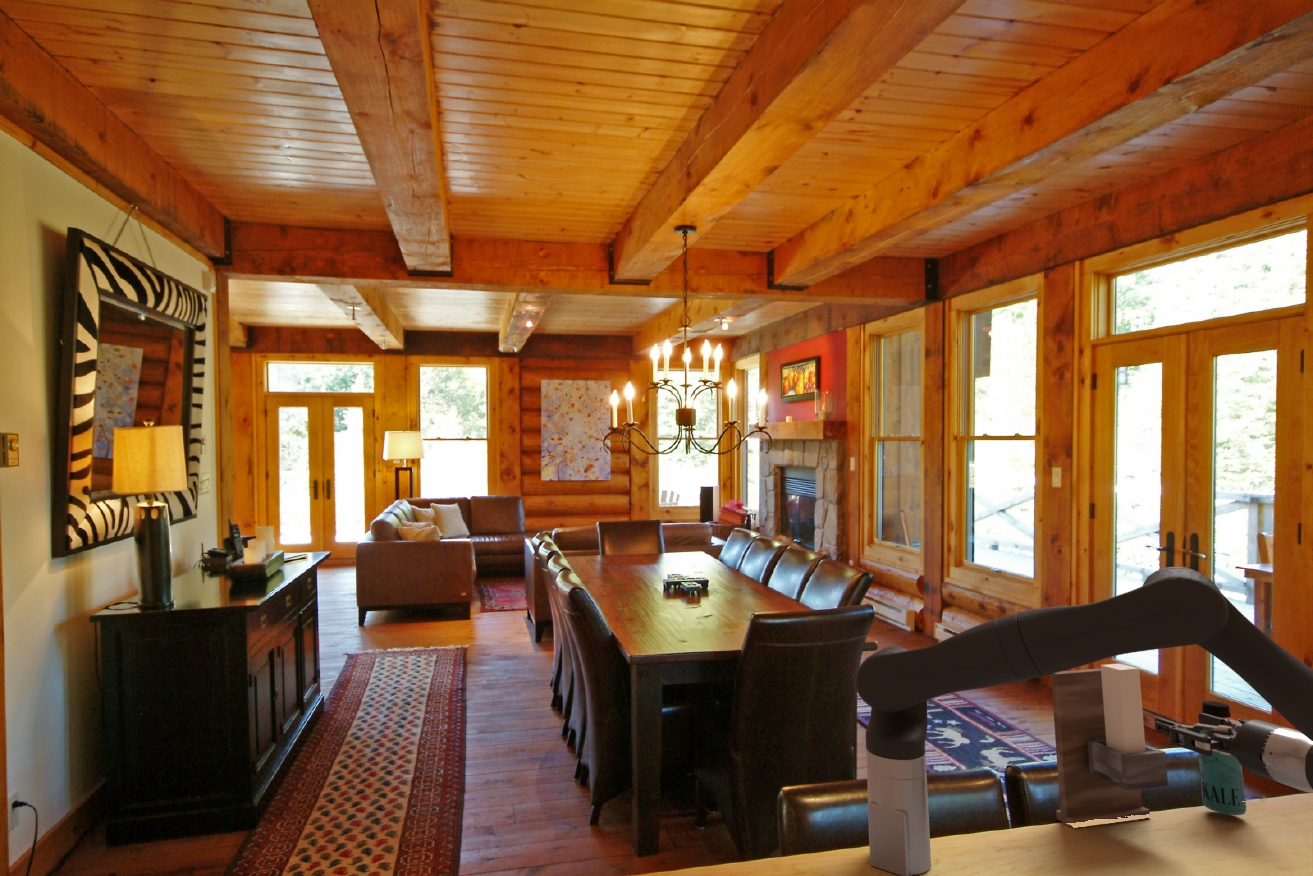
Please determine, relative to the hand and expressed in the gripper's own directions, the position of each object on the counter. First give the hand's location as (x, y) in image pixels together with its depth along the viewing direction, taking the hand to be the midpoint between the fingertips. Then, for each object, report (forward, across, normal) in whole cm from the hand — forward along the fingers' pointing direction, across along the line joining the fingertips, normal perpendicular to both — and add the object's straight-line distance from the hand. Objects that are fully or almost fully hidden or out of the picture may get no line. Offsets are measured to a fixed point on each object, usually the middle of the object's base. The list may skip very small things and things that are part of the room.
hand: (1178, 722), depth 113 cm
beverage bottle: (+12, -21, +22) cm, 33 cm away
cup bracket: (+13, 0, +22) cm, 25 cm away
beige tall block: (+10, 0, +12) cm, 16 cm away
